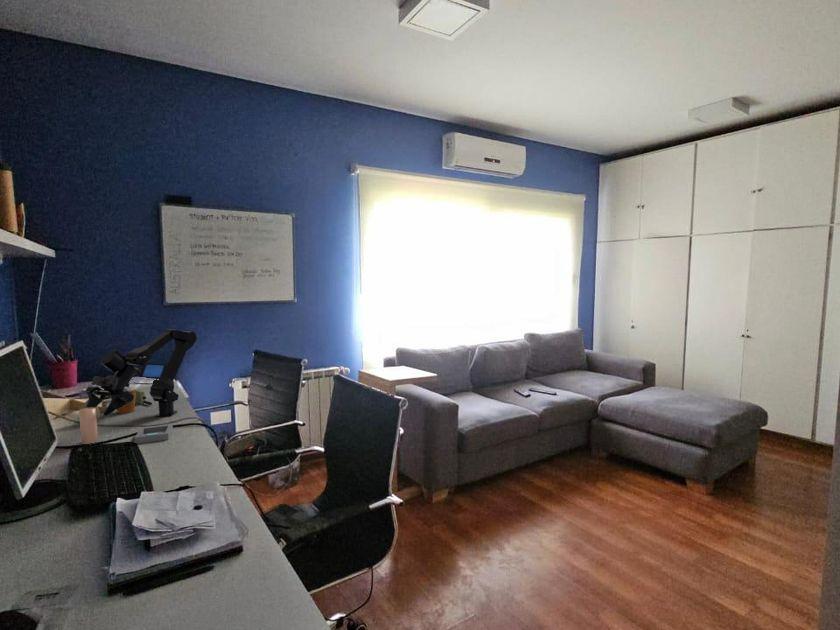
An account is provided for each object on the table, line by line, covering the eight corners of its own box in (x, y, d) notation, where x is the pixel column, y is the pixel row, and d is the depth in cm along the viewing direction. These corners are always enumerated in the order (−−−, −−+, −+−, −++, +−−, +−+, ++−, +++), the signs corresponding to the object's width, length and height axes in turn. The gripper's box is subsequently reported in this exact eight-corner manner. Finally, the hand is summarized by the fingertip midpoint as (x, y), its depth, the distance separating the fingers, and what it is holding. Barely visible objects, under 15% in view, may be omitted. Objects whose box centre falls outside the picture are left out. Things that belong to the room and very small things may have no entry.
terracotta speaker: (87, 440, 157) (84, 407, 156) (101, 439, 158) (98, 406, 157) (78, 445, 152) (75, 411, 151) (92, 444, 153) (90, 411, 152)
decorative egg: (95, 419, 179) (93, 396, 178) (103, 421, 177) (101, 398, 176) (79, 424, 174) (77, 400, 173) (87, 426, 171) (85, 402, 171)
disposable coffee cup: (141, 411, 190) (139, 385, 189) (116, 416, 183) (114, 389, 182) (135, 407, 197) (134, 381, 196) (110, 411, 190) (109, 385, 189)
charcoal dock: (141, 433, 163) (140, 427, 163) (172, 430, 167) (172, 423, 167) (134, 443, 153) (134, 436, 153) (168, 439, 158) (168, 432, 157)
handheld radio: (128, 397, 213) (154, 405, 200) (121, 399, 210) (147, 407, 197) (126, 384, 212) (153, 391, 199) (119, 386, 209) (146, 393, 196)
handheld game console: (126, 383, 240) (125, 367, 239) (145, 378, 253) (144, 363, 252) (151, 384, 238) (150, 368, 237) (168, 379, 251) (167, 363, 250)
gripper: (88, 365, 163) (59, 401, 153) (125, 368, 158) (96, 405, 148) (109, 380, 171) (83, 415, 161) (145, 384, 166) (119, 420, 156)
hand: (94, 414), depth 157 cm, fingers open, 9 cm apart
